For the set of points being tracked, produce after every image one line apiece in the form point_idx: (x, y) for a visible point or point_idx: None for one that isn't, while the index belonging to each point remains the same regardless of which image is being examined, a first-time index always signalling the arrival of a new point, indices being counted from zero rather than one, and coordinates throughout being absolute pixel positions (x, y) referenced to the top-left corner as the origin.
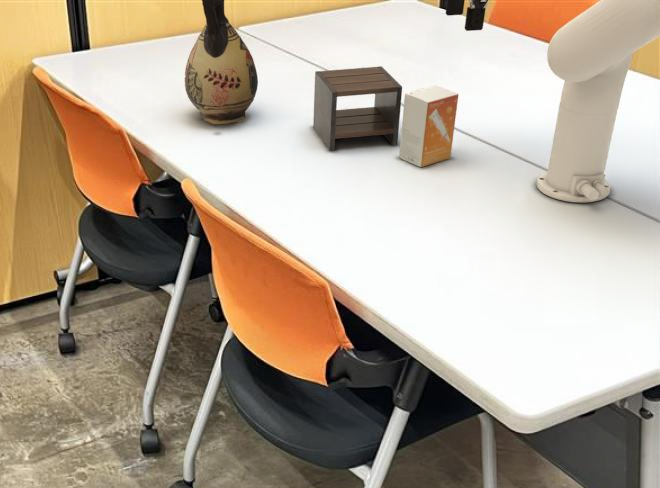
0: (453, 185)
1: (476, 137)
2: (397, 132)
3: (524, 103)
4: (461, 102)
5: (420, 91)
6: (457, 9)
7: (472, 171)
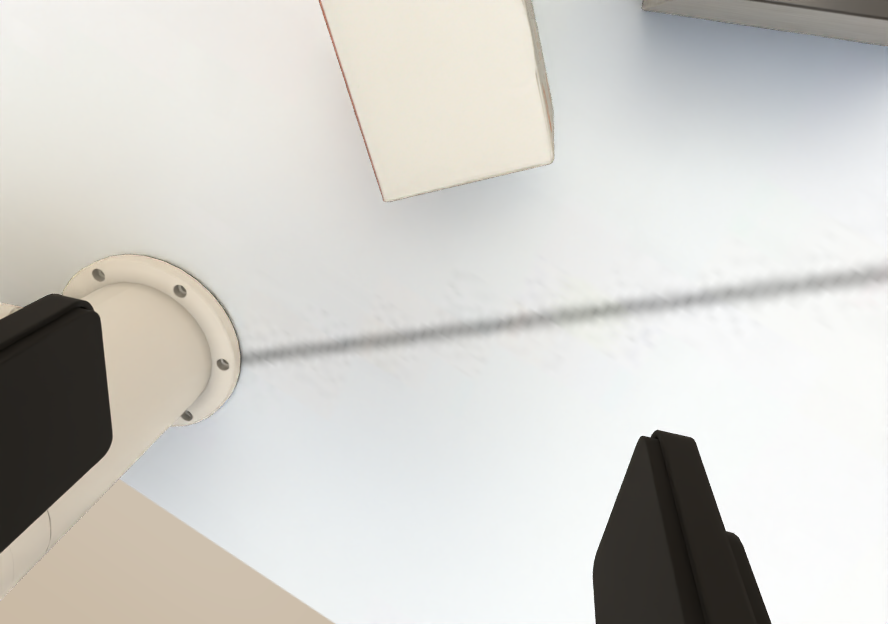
0: (236, 31)
1: (571, 322)
2: (651, 2)
3: None
4: (881, 453)
5: (487, 11)
6: (614, 562)
7: (324, 156)
